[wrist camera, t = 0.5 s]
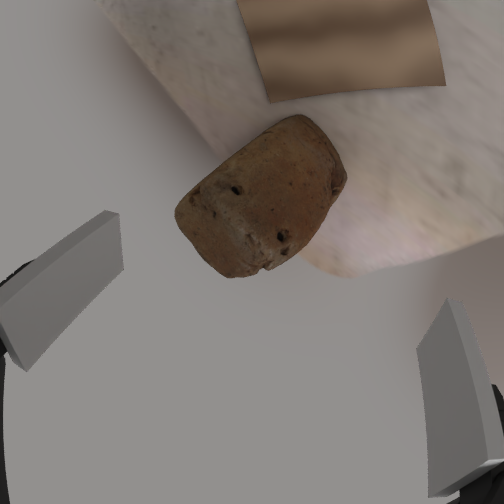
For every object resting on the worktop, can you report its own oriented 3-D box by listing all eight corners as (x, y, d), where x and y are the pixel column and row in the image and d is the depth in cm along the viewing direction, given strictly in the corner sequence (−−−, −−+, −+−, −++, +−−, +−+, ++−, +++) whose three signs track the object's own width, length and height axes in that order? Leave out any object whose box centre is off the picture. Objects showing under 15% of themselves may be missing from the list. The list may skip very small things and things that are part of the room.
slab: (255, -10, 26) (231, -13, 23) (409, -43, 16) (405, -57, 13) (289, 94, 34) (270, 103, 31) (443, 80, 24) (446, 86, 20)
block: (266, 137, 39) (158, 215, 26) (305, 103, 34) (198, 170, 21) (318, 200, 41) (240, 307, 28) (362, 175, 36) (298, 287, 23)
